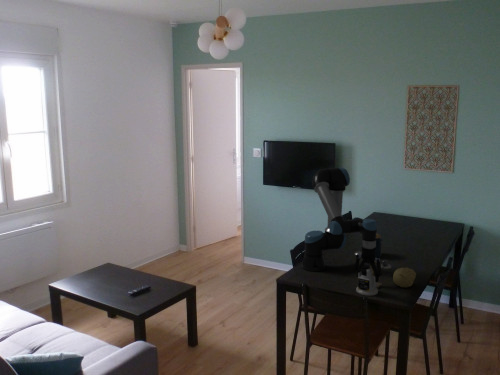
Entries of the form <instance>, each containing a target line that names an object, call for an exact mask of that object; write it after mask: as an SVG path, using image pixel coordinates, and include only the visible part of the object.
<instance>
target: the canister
mask: <svg viewBox="0 0 500 375" xmlns="http://www.w3.org/2000/svg"><path fill="white" fill-rule="evenodd" d="M381 237H382V236H381V234H379V233H377V232H376V247H375V248H376V253H375V256H376V258H378V259H379V258H381V256H382V245H383V244H382V242H383V238H381Z"/></svg>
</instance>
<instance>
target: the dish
mask: <svg viewBox="0 0 500 375" xmlns="http://www.w3.org/2000/svg"><path fill="white" fill-rule="evenodd" d="M355 292H356V293H357V294H359V295H361V296H365V297H366V296H367V297H373V296H376V295H378V293H379V288H378V289H377V288H375V289H373V290H372V291H370V292H367V291H363V290H359V289H358V286H357V287H356V290H355Z"/></svg>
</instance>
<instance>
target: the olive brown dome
mask: <svg viewBox="0 0 500 375" xmlns="http://www.w3.org/2000/svg"><path fill="white" fill-rule="evenodd" d="M416 276H417V273H416V272H415V270H414V269H412V268H409V267H400V268H399V267H398V268H396V270H395V271H394V272H393V276H392V280H393V282H394V284H395V285H396V286H398V287H401V288H403V289H404V288H410V287H411V286H413V284H414V282H415V279H416V278H417V277H416Z"/></svg>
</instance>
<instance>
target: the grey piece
mask: <svg viewBox="0 0 500 375" xmlns="http://www.w3.org/2000/svg"><path fill="white" fill-rule="evenodd" d="M374 276H375V275H374ZM374 276H372V269H370V267H362V269H361V276H360V277H357V287H358V289H359V290H363V291H367V292H370V291H372V290H373V289H375V288H373V287H374Z"/></svg>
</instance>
